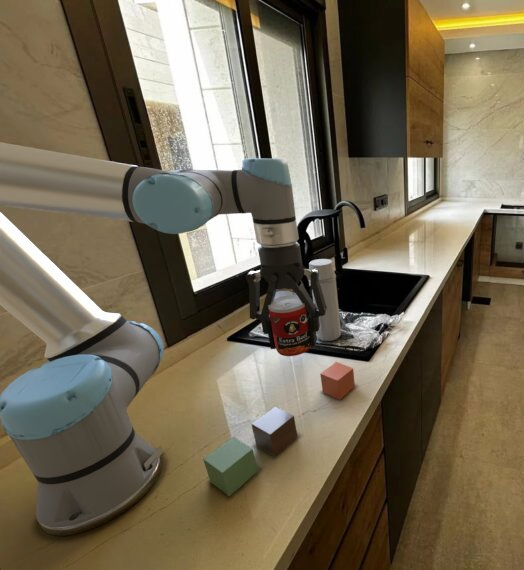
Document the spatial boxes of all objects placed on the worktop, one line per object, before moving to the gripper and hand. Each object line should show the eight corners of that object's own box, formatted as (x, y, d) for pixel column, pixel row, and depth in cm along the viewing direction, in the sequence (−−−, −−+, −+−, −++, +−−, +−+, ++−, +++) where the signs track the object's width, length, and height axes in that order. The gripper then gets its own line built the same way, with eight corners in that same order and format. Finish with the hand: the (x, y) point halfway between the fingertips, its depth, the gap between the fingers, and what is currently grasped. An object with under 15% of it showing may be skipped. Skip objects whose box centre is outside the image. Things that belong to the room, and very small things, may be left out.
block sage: (210, 482, 57) (202, 459, 55) (239, 458, 62) (233, 436, 60) (229, 496, 55) (222, 473, 53) (258, 471, 60) (252, 448, 57)
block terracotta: (322, 392, 80) (320, 373, 78) (338, 379, 84) (336, 361, 82) (339, 399, 77) (337, 380, 75) (354, 386, 82) (353, 368, 80)
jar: (297, 333, 106) (292, 299, 102) (270, 336, 104) (263, 301, 100) (300, 320, 114) (295, 289, 110) (275, 323, 112) (270, 291, 108)
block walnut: (256, 445, 65) (251, 423, 63) (279, 426, 69) (275, 406, 67) (274, 456, 62) (270, 434, 60) (297, 436, 67) (294, 415, 65)
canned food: (276, 360, 67) (267, 312, 63) (275, 342, 74) (267, 297, 70) (315, 352, 70) (309, 305, 66) (310, 335, 77) (305, 292, 73)
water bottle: (325, 329, 109) (317, 257, 99) (346, 333, 106) (339, 259, 97) (308, 343, 100) (297, 266, 91) (330, 347, 98) (321, 269, 89)
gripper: (212, 249, 59) (238, 357, 67) (330, 246, 61) (340, 350, 69) (230, 239, 66) (251, 338, 74) (335, 237, 68) (343, 333, 76)
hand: (294, 344), depth 72 cm, fingers closed on canned food, 8 cm apart
